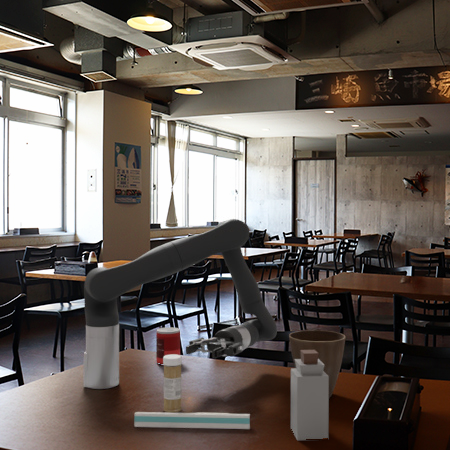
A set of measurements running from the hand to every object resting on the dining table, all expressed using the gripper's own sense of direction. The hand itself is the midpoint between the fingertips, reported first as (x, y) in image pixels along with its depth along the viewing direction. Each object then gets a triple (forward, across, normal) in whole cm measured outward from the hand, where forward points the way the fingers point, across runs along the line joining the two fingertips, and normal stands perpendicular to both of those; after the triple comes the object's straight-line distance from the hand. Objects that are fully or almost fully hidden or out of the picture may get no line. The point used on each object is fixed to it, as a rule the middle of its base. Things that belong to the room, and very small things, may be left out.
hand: (200, 352), depth 142 cm
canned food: (-23, -30, +12) cm, 40 cm away
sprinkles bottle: (+12, 0, +12) cm, 17 cm away
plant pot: (-19, +25, +13) cm, 34 cm away
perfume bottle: (+7, +34, +12) cm, 37 cm away
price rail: (+14, +8, +12) cm, 20 cm away
